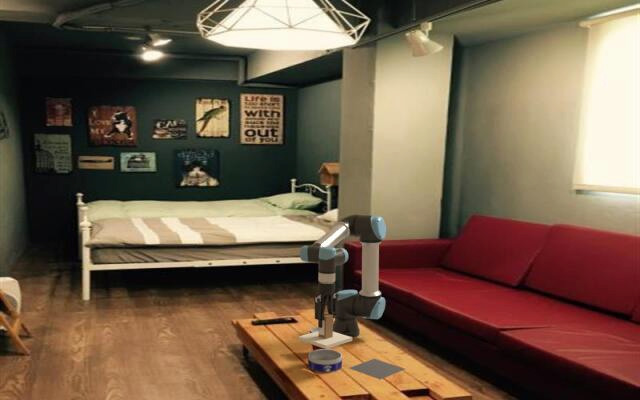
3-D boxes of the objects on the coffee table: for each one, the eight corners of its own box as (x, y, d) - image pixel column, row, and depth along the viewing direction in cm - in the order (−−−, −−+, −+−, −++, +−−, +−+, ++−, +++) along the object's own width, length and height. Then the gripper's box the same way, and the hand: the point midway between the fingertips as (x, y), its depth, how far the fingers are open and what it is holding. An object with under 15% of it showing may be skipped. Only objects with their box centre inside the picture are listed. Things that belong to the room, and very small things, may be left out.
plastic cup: (334, 356, 274) (334, 331, 273) (312, 358, 271) (313, 333, 270) (326, 349, 284) (327, 325, 283) (305, 351, 281) (306, 326, 280)
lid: (324, 332, 271) (325, 308, 270) (352, 340, 259) (352, 315, 258) (298, 339, 259) (299, 314, 258) (326, 349, 247) (326, 322, 246)
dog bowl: (316, 376, 250) (316, 362, 249) (302, 364, 264) (303, 351, 263) (347, 371, 256) (348, 358, 256) (332, 359, 270) (333, 347, 270)
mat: (374, 359, 271) (374, 358, 271) (405, 370, 258) (405, 368, 258) (348, 369, 258) (348, 368, 258) (380, 380, 245) (380, 379, 245)
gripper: (334, 277, 266) (332, 327, 268) (306, 283, 253) (305, 335, 255) (346, 280, 261) (344, 331, 262) (318, 286, 248) (317, 339, 250)
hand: (325, 333), depth 259 cm, fingers closed on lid, 4 cm apart
